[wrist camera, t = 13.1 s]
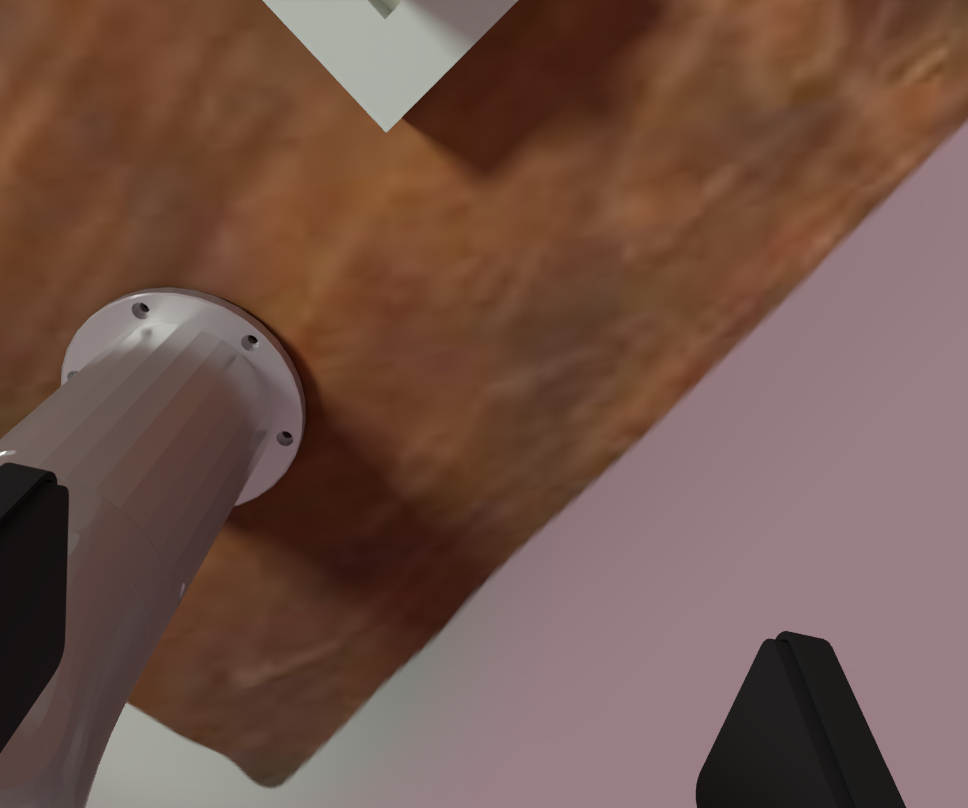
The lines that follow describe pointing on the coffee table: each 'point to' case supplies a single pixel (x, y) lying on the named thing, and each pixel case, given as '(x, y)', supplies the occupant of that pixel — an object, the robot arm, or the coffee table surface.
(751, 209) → the coffee table surface
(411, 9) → the grey square socket block
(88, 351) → the robot arm
